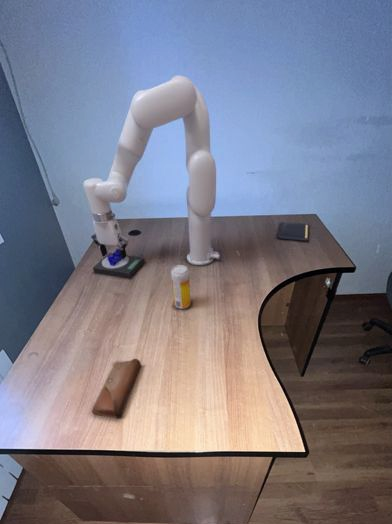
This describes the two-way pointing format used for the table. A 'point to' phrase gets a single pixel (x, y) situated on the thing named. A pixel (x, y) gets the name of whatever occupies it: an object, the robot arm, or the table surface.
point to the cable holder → (115, 257)
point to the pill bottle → (180, 286)
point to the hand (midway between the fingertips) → (114, 256)
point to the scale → (119, 266)
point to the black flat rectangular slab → (293, 231)
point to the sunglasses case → (116, 389)
